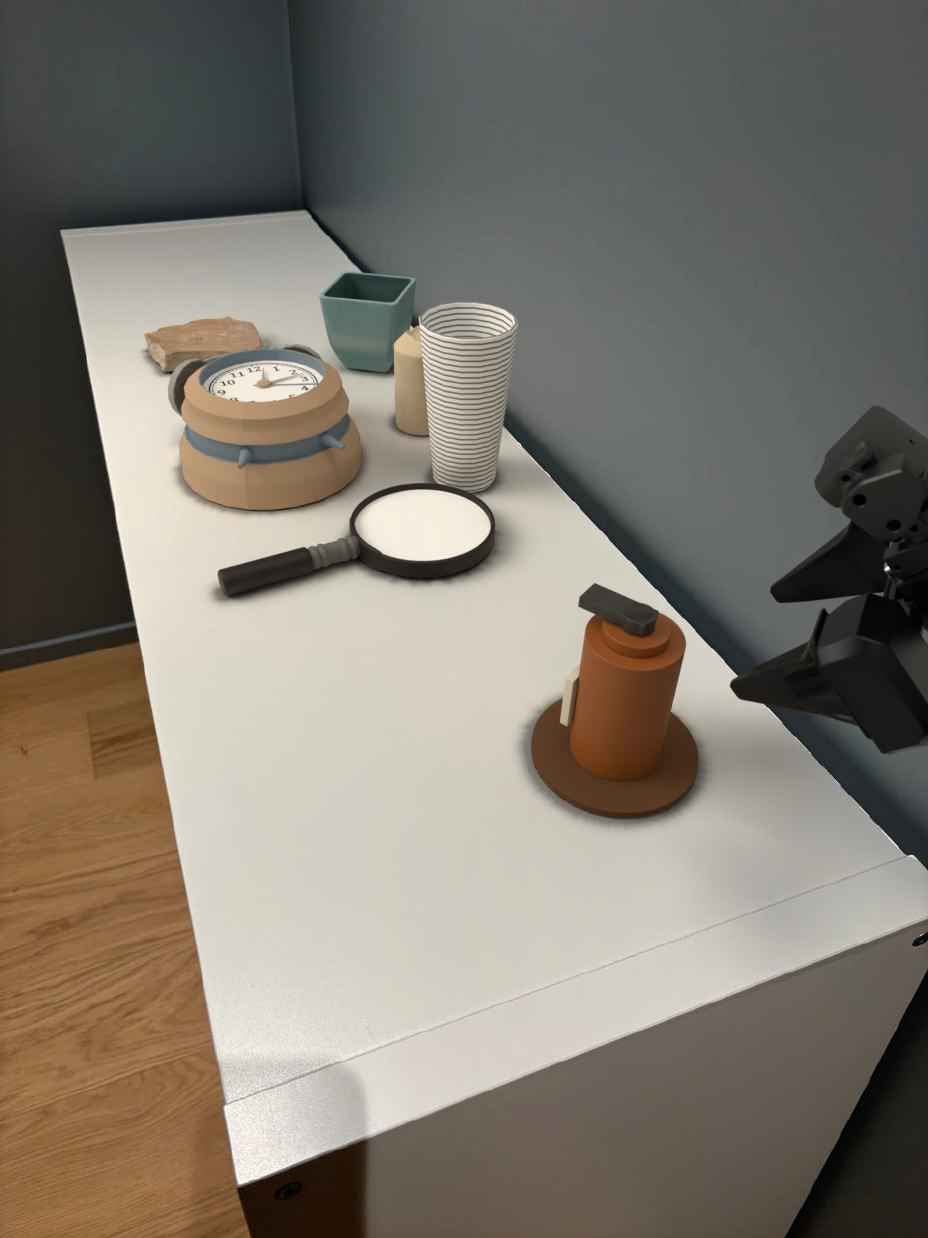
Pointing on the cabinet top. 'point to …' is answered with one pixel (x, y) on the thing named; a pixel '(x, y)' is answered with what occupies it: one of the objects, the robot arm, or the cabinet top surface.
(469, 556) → the magnifying glass
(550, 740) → the coaster
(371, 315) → the flower pot
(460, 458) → the cup
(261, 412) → the alarm clock
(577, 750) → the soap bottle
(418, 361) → the candle
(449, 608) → the cabinet top surface
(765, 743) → the cabinet top surface
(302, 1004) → the cabinet top surface
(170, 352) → the stone
